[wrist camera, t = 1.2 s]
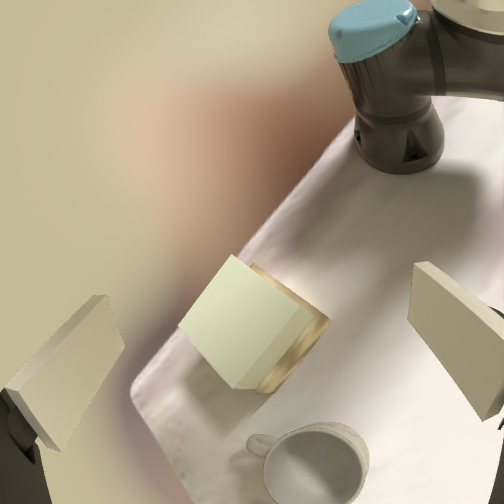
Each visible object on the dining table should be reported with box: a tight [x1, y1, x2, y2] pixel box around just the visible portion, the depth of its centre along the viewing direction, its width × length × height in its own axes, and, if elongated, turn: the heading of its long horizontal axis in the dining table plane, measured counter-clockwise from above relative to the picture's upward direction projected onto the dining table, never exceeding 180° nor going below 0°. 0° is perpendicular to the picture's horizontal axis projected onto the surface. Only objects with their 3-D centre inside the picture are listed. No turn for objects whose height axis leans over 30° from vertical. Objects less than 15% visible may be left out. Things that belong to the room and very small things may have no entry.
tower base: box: [250, 263, 332, 393], centre depth 38 cm, size 12×12×5 cm
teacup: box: [246, 422, 369, 504], centre depth 26 cm, size 14×11×8 cm
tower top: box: [178, 255, 314, 389], centre depth 34 cm, size 11×11×5 cm
